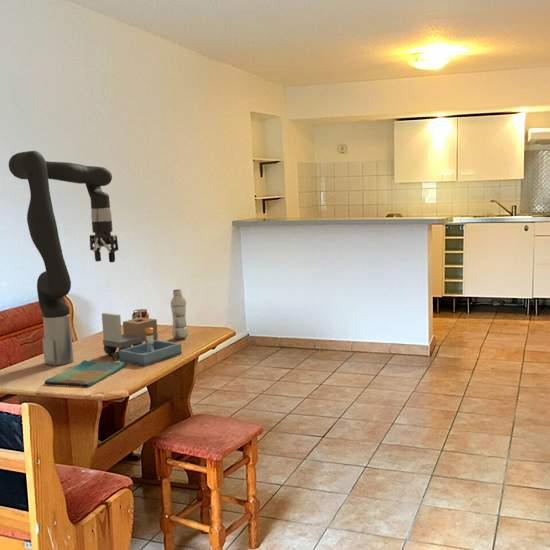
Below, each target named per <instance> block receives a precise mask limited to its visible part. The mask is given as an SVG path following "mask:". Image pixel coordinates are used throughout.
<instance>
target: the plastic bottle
mask: <svg viewBox="0 0 550 550" xmlns="http://www.w3.org/2000/svg"><path fill="white" fill-rule="evenodd" d="M172 295H173V297H172V298H171V300H170V303H169V304H170V309H171V316H172V329H171V334H172V335H171V336H172V337H173V338H174V339H175V340H182V338H183V339H186V338H187V337H188V336H189V330H188V326H187V325H188V324H187V320H186V319H187V317H186V313H187V301H186V299H185V298H184V296H183V290H182V289H179V288H178V289H173V290H172Z"/></svg>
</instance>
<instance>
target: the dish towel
mask: <svg viewBox="0 0 550 550" xmlns="http://www.w3.org/2000/svg"><path fill="white" fill-rule="evenodd" d="M125 366H126V363H124V362H121V361H120V360H119V361H101V362H99V361H89V360H86V359H85V360H81V363H79V364H77V365H76V366H73V367H70V368H68V369H66V370H63V371H62V372H60V373H57V374H55V375H54V376H51V377H49V378H47V379H45V380H44V383H43V384H44V385H45V384H47V385H46V386H55V385H66V386H65V387H74V386H82V387H81V388H91V387H92V386H95V385H96V384H99V383H100V382H101V381H103V380H105V379H107V378H109V377H110V375H111V376H112V375H115V374H116V373H118V372H119V371H122V369H124V368H125ZM117 371H118V372H117ZM108 376H109V377H108ZM67 385H68V386H67Z"/></svg>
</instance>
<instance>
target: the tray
mask: <svg viewBox="0 0 550 550" xmlns="http://www.w3.org/2000/svg"><path fill="white" fill-rule="evenodd" d="M118 352H119V357H120V360H119V362H120V361H121V362H124V363H125V364H129V365H134V366H135V365H136V366H141V367H147V366H151V365H153V364H156V363H160V362H163V361H165V360H169V359H172V358H174V357H178V356H181V355H182V343H179V342H171V341H165V340H160V339H157V340H154V351H152V352H149V353H147V344H146V343H142V344H141V345H137V346H131V347H130V348H127V349H123V350H120V351H119V350H118ZM177 355H178V356H177Z"/></svg>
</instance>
